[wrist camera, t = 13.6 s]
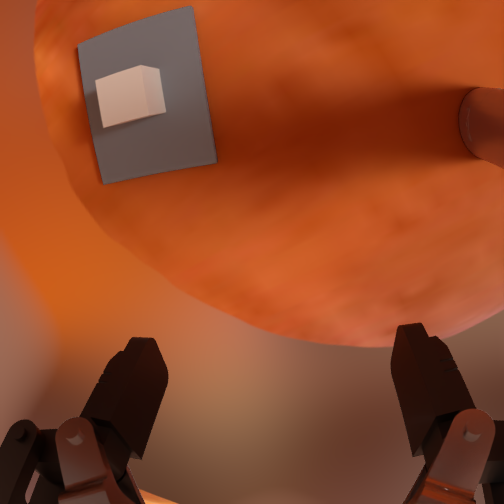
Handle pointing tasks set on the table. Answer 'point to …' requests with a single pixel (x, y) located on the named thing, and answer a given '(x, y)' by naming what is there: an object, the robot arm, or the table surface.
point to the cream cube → (130, 95)
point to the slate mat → (174, 91)
